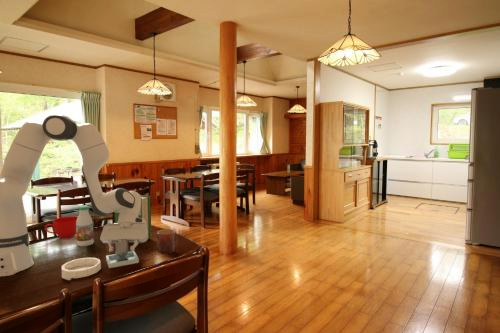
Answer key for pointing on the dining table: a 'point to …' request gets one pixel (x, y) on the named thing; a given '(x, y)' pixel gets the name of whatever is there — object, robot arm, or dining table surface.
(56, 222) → the ceramic cup
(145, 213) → the hardback book
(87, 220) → the milk bottle
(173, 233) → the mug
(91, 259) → the bowl
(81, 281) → the dining table surface
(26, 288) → the dining table surface
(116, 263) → the parts tray
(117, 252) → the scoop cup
